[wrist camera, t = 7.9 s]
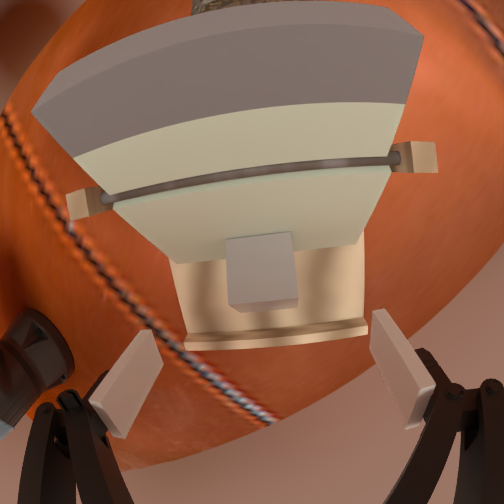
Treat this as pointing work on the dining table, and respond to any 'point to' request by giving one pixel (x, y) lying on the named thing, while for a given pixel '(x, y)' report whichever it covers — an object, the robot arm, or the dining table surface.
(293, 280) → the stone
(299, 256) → the stand
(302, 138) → the flap
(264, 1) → the rock
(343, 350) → the dining table surface
